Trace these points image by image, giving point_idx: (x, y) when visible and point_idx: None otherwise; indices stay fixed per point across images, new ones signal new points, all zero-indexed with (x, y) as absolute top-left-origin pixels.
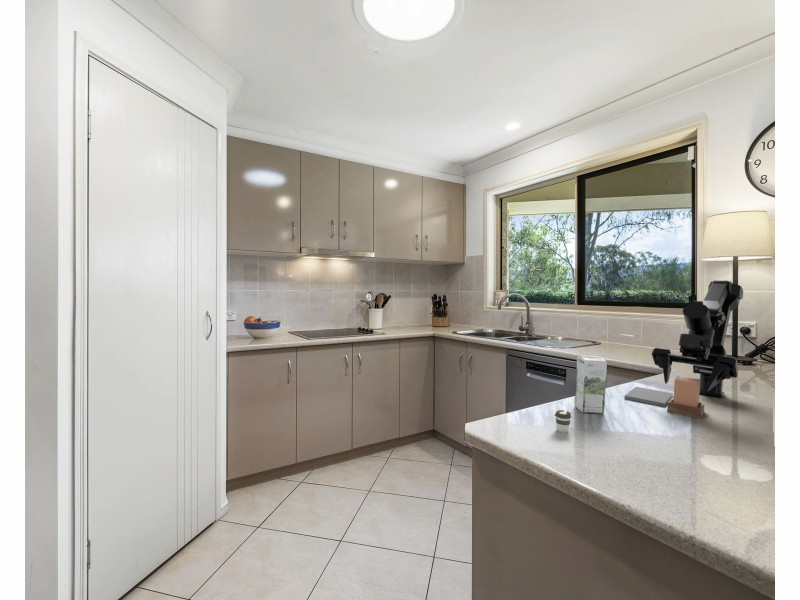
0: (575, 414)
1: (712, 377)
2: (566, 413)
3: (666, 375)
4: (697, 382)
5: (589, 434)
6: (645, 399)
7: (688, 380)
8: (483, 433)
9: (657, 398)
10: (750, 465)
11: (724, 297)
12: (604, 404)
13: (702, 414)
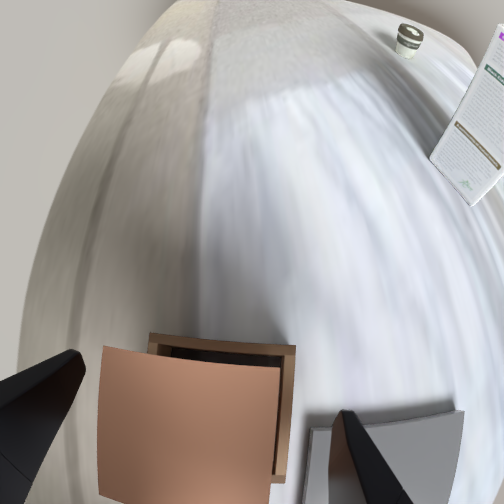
0: None
1: (2, 391)
2: (407, 29)
3: (358, 451)
4: (105, 354)
5: (370, 53)
6: (393, 424)
7: (167, 396)
8: (437, 33)
9: None
10: (130, 76)
11: None
12: (440, 138)
13: None
